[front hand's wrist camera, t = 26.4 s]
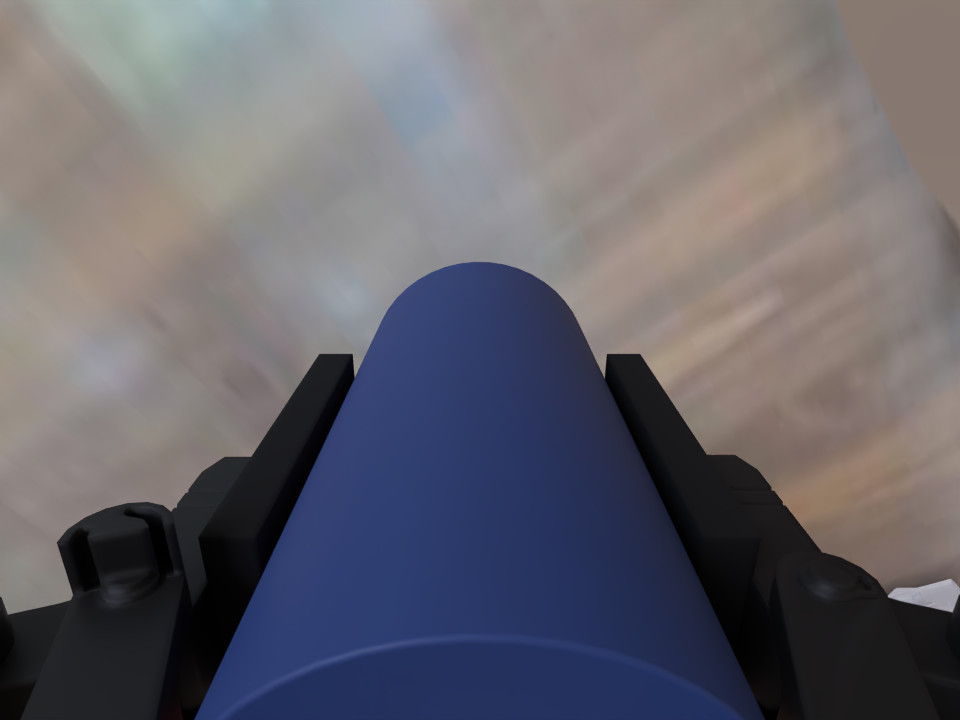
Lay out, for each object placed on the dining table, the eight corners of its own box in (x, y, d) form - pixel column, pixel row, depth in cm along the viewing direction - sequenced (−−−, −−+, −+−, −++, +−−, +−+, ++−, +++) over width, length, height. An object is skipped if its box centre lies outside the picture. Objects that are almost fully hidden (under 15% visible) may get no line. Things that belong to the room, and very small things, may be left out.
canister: (429, 221, 15) (292, 522, 4) (627, 323, 16) (955, 791, 5) (339, 407, 17) (76, 962, 6) (521, 488, 18) (589, 1094, 7)
